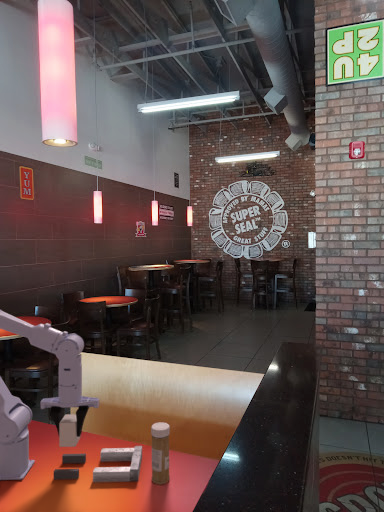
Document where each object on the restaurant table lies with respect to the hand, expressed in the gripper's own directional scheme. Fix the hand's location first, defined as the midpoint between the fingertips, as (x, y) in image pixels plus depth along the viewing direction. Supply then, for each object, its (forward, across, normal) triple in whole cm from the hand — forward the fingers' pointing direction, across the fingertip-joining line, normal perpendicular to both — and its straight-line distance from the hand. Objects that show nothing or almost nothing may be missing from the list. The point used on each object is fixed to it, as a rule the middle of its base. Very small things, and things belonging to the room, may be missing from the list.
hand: (70, 434), depth 96 cm
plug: (+2, 0, 0) cm, 2 cm away
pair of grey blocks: (+9, 0, 0) cm, 9 cm away
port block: (+9, -12, 0) cm, 15 cm away
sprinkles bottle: (+9, -24, +5) cm, 26 cm away
